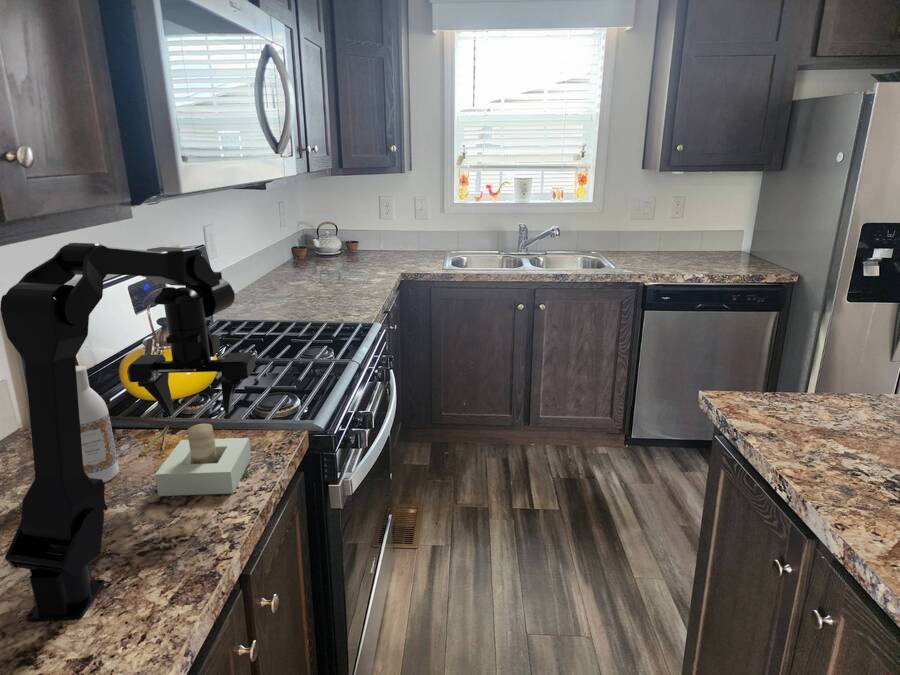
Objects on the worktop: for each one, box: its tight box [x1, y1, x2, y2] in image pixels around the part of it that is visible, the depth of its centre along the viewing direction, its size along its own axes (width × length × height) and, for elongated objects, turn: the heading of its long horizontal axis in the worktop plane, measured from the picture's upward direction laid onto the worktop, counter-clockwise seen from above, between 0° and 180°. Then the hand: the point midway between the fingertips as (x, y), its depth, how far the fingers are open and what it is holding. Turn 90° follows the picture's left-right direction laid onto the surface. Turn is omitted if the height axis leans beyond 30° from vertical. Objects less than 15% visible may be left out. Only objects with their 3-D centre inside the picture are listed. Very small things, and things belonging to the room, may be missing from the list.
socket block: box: [154, 437, 252, 497], centre depth 105 cm, size 12×12×4 cm
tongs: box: [139, 424, 170, 457], centre depth 118 cm, size 4×13×2 cm, turn 15°
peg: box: [186, 423, 218, 464], centre depth 104 cm, size 4×4×9 cm
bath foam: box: [76, 365, 120, 484], centre depth 102 cm, size 7×7×20 cm
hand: (199, 414), depth 102 cm, fingers open, 9 cm apart
